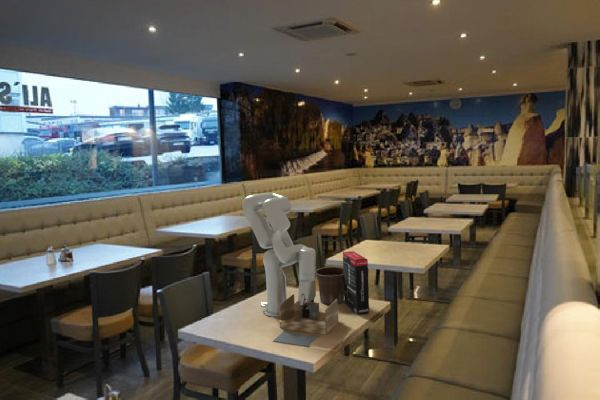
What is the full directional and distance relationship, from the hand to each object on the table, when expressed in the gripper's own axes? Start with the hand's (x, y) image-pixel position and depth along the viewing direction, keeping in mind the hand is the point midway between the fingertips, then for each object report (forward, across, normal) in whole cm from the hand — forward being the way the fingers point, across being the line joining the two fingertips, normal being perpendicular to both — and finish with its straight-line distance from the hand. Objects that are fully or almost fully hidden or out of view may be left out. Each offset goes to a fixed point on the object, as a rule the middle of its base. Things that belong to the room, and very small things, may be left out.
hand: (308, 314), depth 205 cm
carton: (+5, 0, +1) cm, 5 cm away
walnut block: (+1, 0, -1) cm, 1 cm away
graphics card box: (+5, -26, +15) cm, 30 cm away
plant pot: (+6, -33, 0) cm, 33 cm away
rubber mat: (+5, +16, +1) cm, 17 cm away
